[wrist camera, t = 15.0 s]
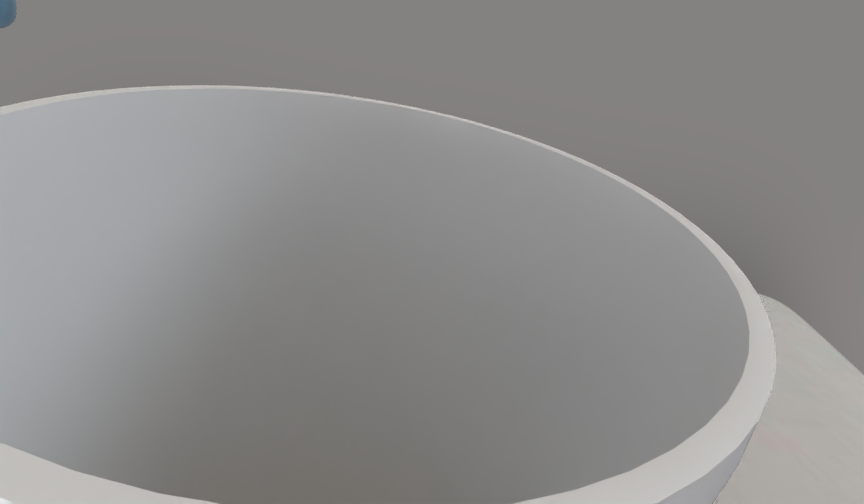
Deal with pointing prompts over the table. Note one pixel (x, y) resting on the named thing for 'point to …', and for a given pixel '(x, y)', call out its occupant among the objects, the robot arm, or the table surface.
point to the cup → (352, 311)
